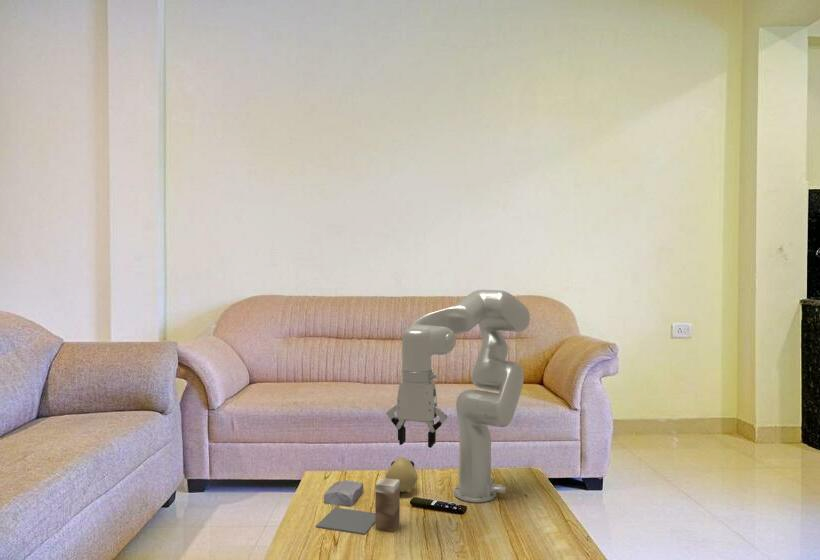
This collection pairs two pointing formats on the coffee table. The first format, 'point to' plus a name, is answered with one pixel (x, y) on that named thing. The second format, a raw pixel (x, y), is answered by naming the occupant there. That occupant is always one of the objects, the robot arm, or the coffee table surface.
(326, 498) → the stone block
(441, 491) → the coffee table surface
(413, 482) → the tan rounded figure
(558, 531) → the coffee table surface
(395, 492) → the walnut block
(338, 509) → the rubber mat
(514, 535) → the coffee table surface
